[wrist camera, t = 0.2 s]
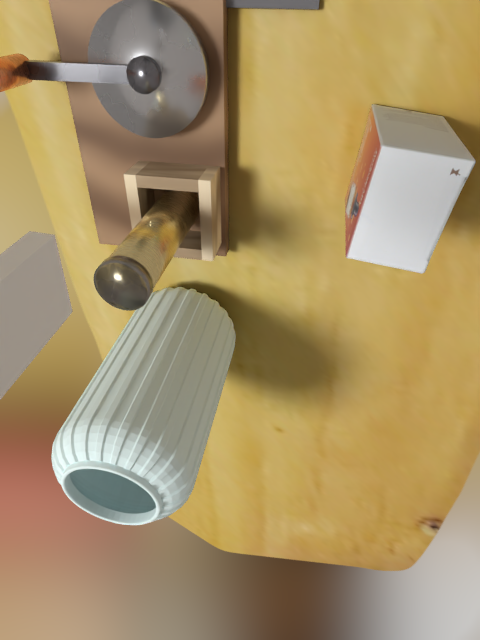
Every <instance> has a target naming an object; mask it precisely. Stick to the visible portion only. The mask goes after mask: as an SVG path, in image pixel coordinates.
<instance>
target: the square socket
mask: <svg viewBox="0 0 480 640" xmlns="http://www.w3.org/2000/svg"><path fill="white" fill-rule="evenodd" d="M124 180H125V187H126V193H127V200H128V206H129V213H130V219H131V226H132V230H133V229H134V227H135V226H136V225H137V224H138V223H139V221H140V220H141V219H142V218H143V217H144V216H145V214H146V213H147V212H148V211H149V210H150V209H151V207H152V206H153V205H154V204H155V198H154V189H164V190H176V191H189V192H199V209H200V229H201V231H192V230H189V232H188V233H187V235H186V237H185V238H184V240H183V241H182V243H181V245H180V246H179V248H178V249H177V251H176V253H175V254H174V256H173V257H178V258H187V259H197V260H207V261H213V260H214V258H215V256H216V254H217V251H218V249H219V247H220V245H221V243H222V242H221V184H220V166H208V165H194V164H180V163H166V162H153V161H138V162H137V163H136V164H135V165H134V166H132V167H131V168H130V169H129V170H128V171H127V172H126V173H124Z"/></svg>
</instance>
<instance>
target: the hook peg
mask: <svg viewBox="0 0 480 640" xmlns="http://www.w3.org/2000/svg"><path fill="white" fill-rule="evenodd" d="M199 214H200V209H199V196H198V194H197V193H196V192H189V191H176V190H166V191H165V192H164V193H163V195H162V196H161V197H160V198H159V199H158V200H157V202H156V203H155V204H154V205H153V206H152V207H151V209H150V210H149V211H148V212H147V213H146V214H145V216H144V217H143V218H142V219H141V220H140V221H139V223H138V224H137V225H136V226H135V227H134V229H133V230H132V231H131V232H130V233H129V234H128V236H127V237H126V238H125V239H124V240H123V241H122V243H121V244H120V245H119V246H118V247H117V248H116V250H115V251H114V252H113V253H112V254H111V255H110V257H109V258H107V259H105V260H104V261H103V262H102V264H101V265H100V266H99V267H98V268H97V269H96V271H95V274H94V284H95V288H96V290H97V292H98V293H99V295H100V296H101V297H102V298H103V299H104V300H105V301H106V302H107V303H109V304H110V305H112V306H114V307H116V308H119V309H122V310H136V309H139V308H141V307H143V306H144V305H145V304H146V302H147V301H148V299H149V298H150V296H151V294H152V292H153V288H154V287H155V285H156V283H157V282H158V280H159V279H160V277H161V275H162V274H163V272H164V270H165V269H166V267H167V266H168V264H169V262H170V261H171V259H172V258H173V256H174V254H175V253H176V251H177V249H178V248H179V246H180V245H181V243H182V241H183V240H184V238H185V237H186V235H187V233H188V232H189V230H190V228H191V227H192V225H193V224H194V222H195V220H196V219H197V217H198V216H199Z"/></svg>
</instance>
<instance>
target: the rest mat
mask: <svg viewBox="0 0 480 640" xmlns="http://www.w3.org/2000/svg"><path fill="white" fill-rule="evenodd" d="M319 2H320V0H226V7H231V8H279V9H319Z"/></svg>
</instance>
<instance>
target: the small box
mask: <svg viewBox="0 0 480 640" xmlns="http://www.w3.org/2000/svg"><path fill="white" fill-rule="evenodd" d="M475 163H476V161H475V159H474V158H473V156H472V155H471V154H470V152H469V151H468V149H467V148H466V147H465V145H464V144H463V143H462V141H461V140H460V139H459V137H458V136H457V135H456V133H455V132H454V131H453V129H452V128H451V126H450V125H449V124H448V122H447V121H446V120H445V118H444V117H443V116H438V115H432V114H427V113H421V112H415V111H410V110H404V109H399V108H393V107H387V106H381V105H375V104H372V105H371V108H370V112H369V116H368V120H367V124H366V128H365V132H364V135H363V139H362V142H361V146H360V149H359V153H358V156H357V159H356V163H355V166H354V170H353V173H352V177H351V180H350V184H349V187H348V190H347V194H346V197H345V221H346V258H350V259H355V260H360V261H365V262H369V263H374V264H379V265H384V266H389V267H393V268H398V269H403V270H408V271H413V272H418V273H425V271H426V268H427V266H428V263H429V260H430V258H431V256H432V253H433V251H434V249H435V246H436V244H437V242H438V240H439V237H440V235H441V233H442V231H443V229H444V226H445V224H446V222H447V220H448V218H449V216H450V213H451V211H452V209H453V207H454V205H455V202H456V200H457V198H458V196H459V194H460V192H461V190H462V188H463V186H464V184H465V182H466V180H467V178H468V176H469V174H470V172H471V170H472V169H473V167H474V165H475Z"/></svg>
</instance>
